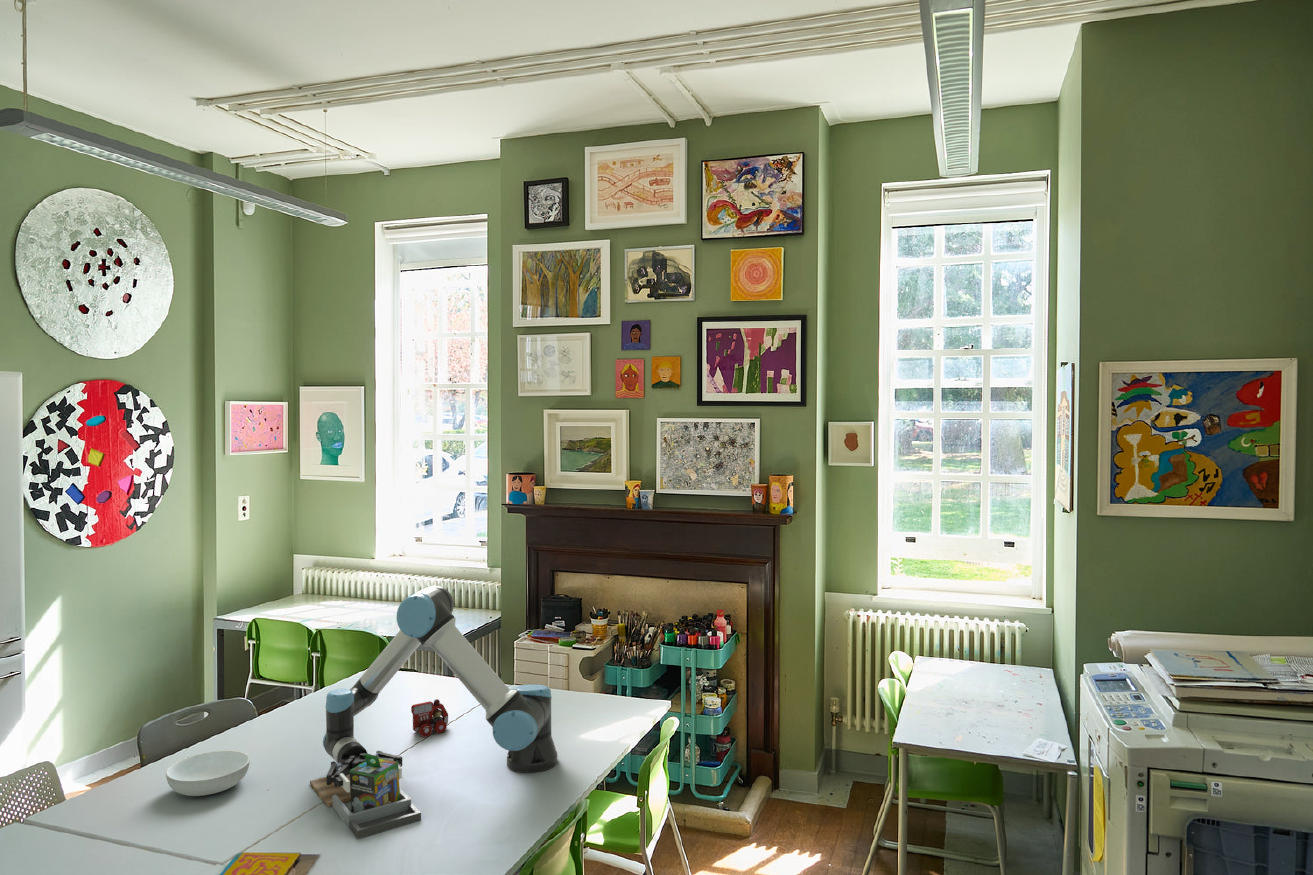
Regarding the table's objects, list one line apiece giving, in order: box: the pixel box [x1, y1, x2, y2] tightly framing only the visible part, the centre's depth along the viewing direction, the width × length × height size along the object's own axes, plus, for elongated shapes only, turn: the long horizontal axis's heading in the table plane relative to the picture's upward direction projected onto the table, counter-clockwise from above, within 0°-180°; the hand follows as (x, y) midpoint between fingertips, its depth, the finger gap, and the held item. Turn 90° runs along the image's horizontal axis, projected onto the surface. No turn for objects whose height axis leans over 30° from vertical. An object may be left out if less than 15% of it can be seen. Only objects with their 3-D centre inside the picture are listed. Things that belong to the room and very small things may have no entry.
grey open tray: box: [331, 788, 422, 840], centre depth 218 cm, size 22×16×3 cm
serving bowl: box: [165, 750, 251, 797], centre depth 233 cm, size 21×21×7 cm
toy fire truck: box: [410, 698, 449, 738], centre depth 276 cm, size 7×12×10 cm, turn 128°
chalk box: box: [349, 753, 401, 813], centre depth 220 cm, size 9×9×15 cm
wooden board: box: [309, 775, 351, 808], centre depth 234 cm, size 18×18×1 cm
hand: (374, 780), depth 218 cm, fingers open, 13 cm apart
